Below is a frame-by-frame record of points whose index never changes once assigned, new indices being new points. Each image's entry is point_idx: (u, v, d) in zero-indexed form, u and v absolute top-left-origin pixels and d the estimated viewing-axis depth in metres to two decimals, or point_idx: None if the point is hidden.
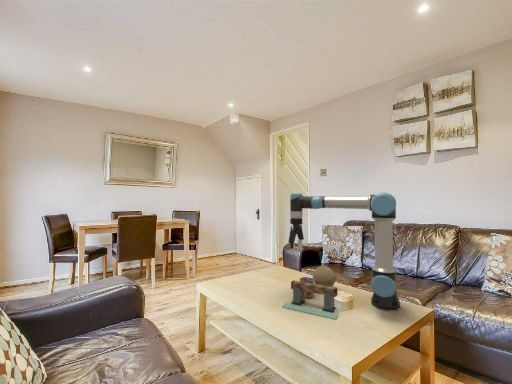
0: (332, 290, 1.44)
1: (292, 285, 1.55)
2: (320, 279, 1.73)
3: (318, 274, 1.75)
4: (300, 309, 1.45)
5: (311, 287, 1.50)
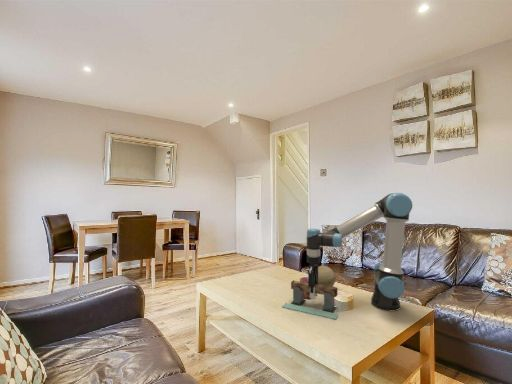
0: (332, 290, 1.44)
1: (292, 285, 1.55)
2: (320, 279, 1.73)
3: (318, 274, 1.75)
4: (300, 309, 1.45)
5: None
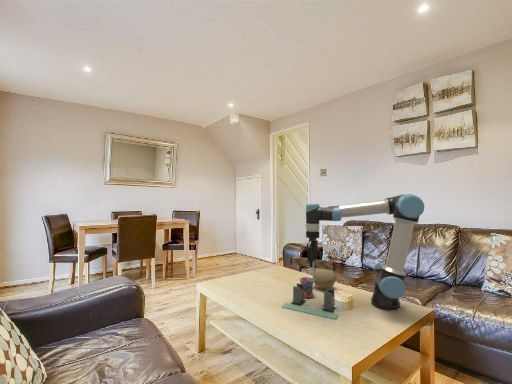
0: (331, 264, 1.43)
1: (291, 260, 1.55)
2: (320, 279, 1.73)
3: (318, 274, 1.75)
4: (300, 309, 1.45)
5: None
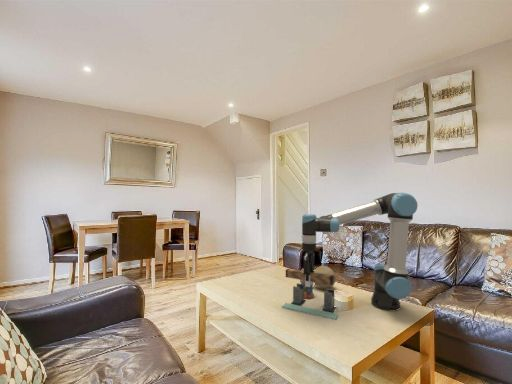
0: (328, 278, 1.37)
1: (287, 273, 1.49)
2: None
3: None
4: (300, 309, 1.45)
5: None
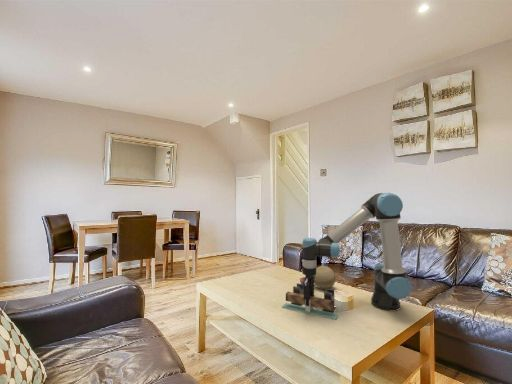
0: (328, 303, 1.37)
1: (287, 297, 1.48)
2: (320, 279, 1.73)
3: (318, 274, 1.75)
4: (300, 309, 1.45)
5: None
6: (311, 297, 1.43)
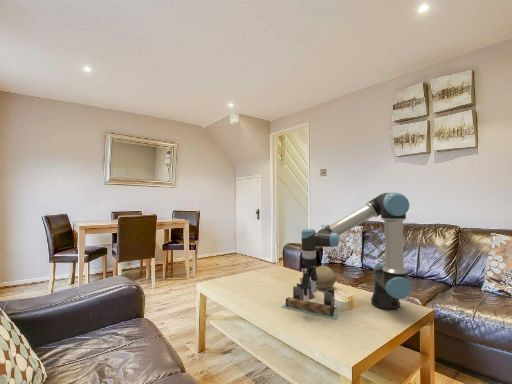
0: (328, 309, 1.37)
1: (287, 303, 1.48)
2: (320, 279, 1.73)
3: (318, 274, 1.75)
4: None
5: (306, 305, 1.43)
6: (311, 303, 1.43)
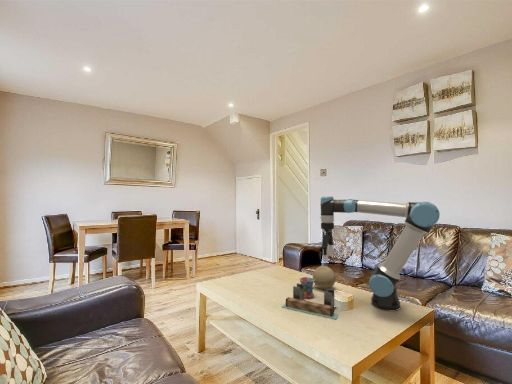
0: (328, 309, 1.37)
1: (287, 303, 1.48)
2: (320, 279, 1.73)
3: (318, 274, 1.75)
4: None
5: (306, 305, 1.43)
6: (311, 303, 1.43)
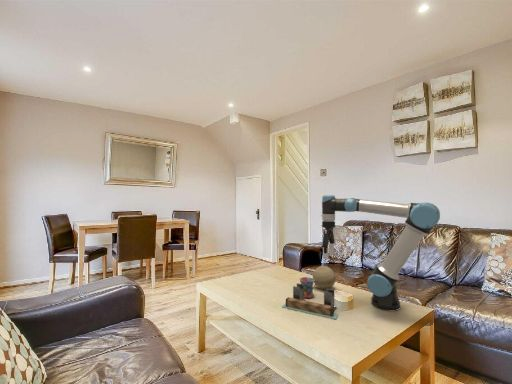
0: (328, 309, 1.37)
1: (287, 303, 1.48)
2: (320, 279, 1.73)
3: (318, 274, 1.75)
4: None
5: (306, 305, 1.43)
6: (311, 303, 1.43)
